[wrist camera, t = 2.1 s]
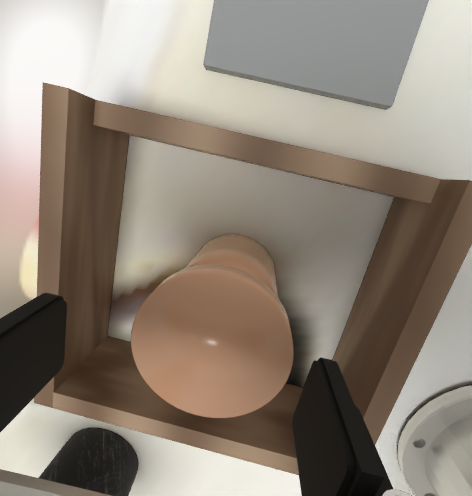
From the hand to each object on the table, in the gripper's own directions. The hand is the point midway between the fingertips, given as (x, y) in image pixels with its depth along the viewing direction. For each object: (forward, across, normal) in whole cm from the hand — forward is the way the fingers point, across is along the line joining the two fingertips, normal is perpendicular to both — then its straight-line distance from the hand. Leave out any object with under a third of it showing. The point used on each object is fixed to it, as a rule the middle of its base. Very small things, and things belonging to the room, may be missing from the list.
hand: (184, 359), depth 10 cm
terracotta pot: (+10, -1, 0) cm, 10 cm away
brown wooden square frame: (+10, -1, 0) cm, 10 cm away
